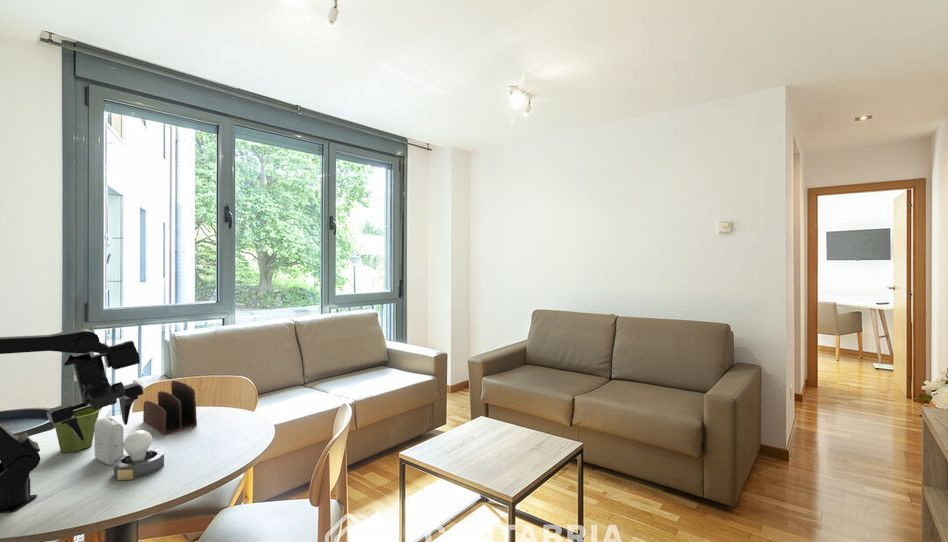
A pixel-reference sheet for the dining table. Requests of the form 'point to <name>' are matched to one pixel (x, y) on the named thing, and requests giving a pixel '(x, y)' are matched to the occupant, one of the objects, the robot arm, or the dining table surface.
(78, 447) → the plant pot
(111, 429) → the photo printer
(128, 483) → the dining table surface
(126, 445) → the lightbulb
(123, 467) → the roll of grey tape
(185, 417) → the letter holder
